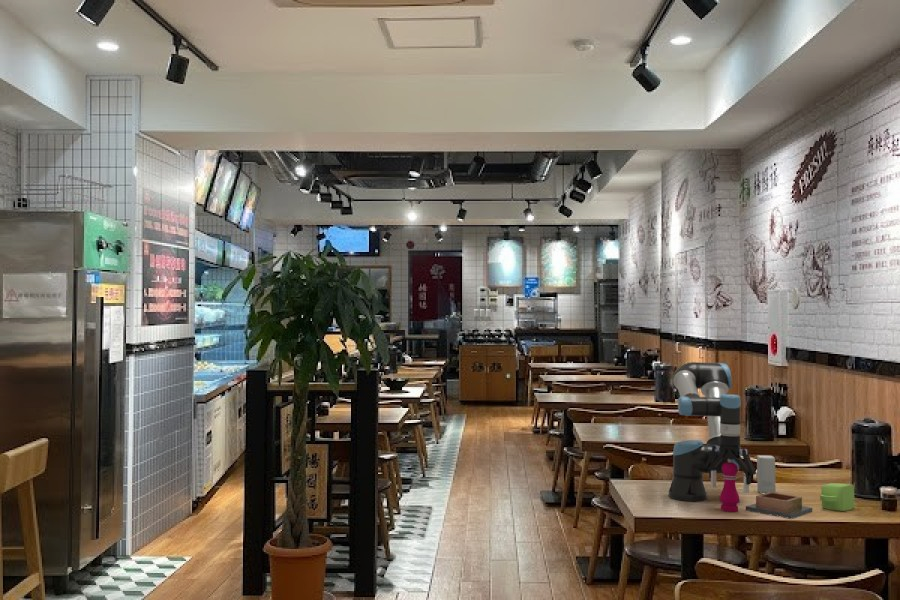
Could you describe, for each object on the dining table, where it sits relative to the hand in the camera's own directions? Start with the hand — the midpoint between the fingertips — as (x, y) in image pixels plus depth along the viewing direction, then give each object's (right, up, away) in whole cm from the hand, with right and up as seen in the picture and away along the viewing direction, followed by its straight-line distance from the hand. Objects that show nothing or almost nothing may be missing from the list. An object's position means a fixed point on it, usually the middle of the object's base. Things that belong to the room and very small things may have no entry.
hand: (729, 490), depth 325 cm
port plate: (+19, -8, 0) cm, 21 cm away
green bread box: (+45, -9, +7) cm, 46 cm away
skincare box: (+27, -9, +35) cm, 45 cm away
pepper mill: (0, -8, 0) cm, 8 cm away
